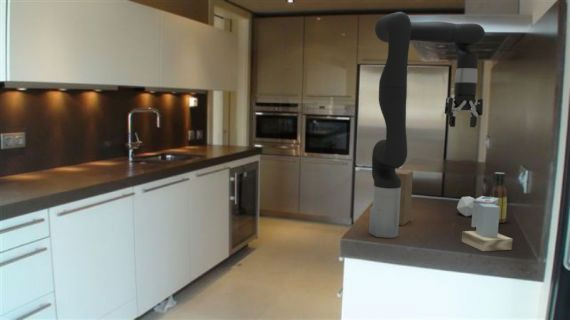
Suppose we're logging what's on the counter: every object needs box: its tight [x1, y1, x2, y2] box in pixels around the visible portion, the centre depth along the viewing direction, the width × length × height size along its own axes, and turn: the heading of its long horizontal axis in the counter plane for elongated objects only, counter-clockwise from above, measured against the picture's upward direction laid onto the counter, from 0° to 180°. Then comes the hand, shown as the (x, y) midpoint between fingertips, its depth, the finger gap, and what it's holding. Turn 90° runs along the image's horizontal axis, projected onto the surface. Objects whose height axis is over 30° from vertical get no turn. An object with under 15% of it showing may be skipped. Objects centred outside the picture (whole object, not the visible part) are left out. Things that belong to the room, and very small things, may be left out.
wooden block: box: [395, 168, 414, 227], centre depth 191 cm, size 10×10×20 cm
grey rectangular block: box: [475, 204, 500, 237], centre depth 162 cm, size 5×5×10 cm
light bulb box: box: [470, 195, 498, 228], centre depth 189 cm, size 11×7×11 cm, turn 142°
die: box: [456, 195, 476, 217], centre depth 207 cm, size 8×9×10 cm
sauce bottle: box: [489, 171, 508, 224], centre depth 196 cm, size 7×6×20 cm
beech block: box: [461, 230, 514, 252], centre depth 163 cm, size 11×11×4 cm
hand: (462, 127), depth 178 cm, fingers open, 8 cm apart
